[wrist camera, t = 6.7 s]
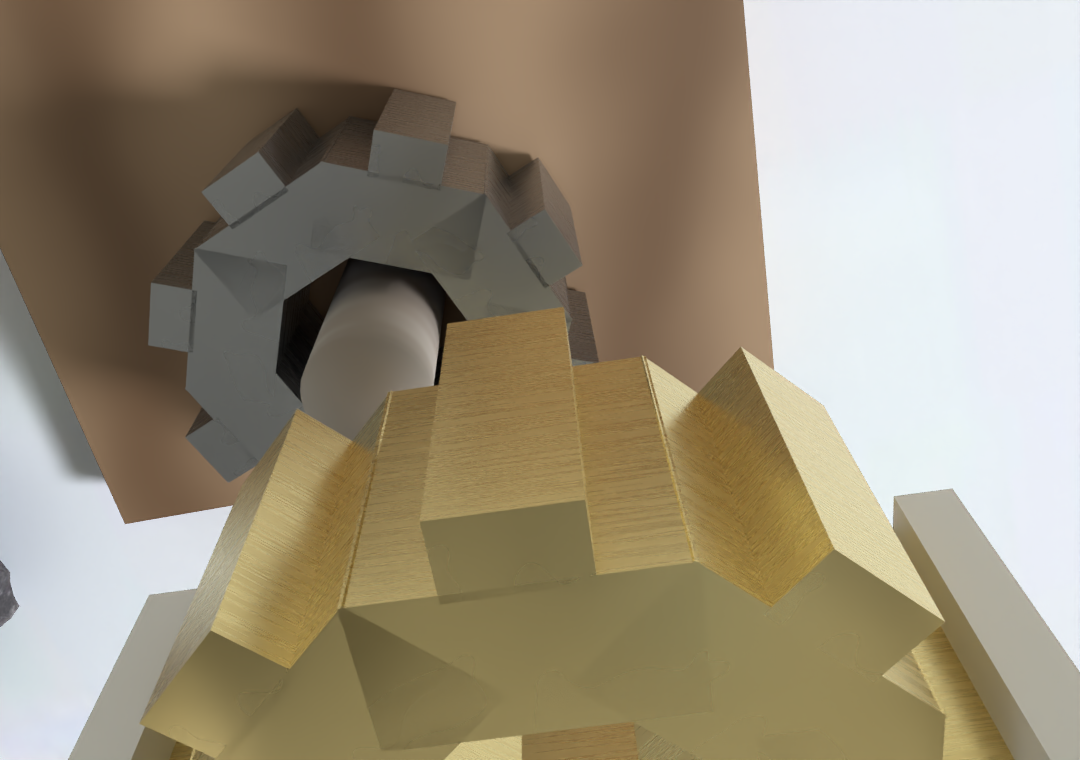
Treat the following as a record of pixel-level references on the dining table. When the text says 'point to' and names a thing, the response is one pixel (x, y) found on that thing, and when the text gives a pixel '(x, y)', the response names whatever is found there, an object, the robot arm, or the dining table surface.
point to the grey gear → (349, 256)
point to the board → (363, 91)
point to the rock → (6, 596)
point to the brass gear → (566, 580)
